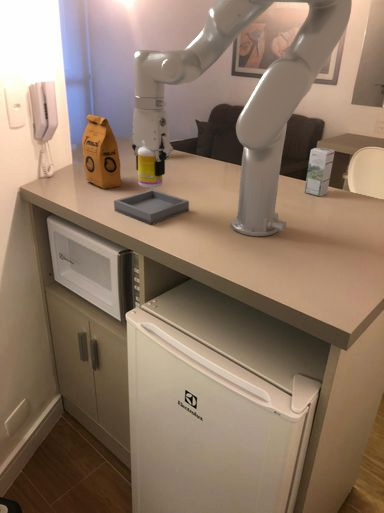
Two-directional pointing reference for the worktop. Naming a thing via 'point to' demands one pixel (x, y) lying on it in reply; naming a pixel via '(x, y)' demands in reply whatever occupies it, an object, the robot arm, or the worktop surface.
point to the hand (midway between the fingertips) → (150, 171)
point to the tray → (151, 206)
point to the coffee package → (101, 153)
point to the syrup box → (319, 171)
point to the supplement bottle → (147, 168)
